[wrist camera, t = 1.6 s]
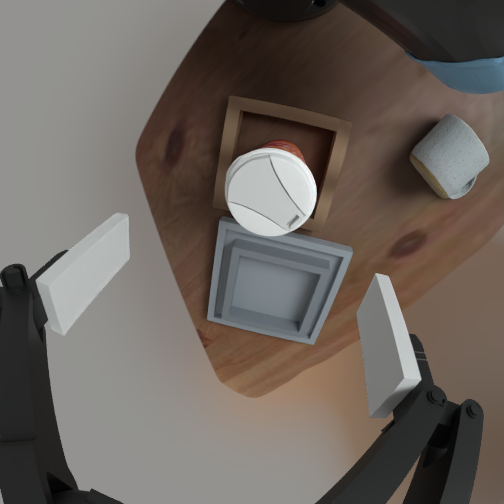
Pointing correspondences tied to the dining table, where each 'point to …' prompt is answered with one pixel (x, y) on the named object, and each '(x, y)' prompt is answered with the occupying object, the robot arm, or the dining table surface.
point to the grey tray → (275, 281)
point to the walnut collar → (295, 114)
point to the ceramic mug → (450, 157)
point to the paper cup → (271, 189)
